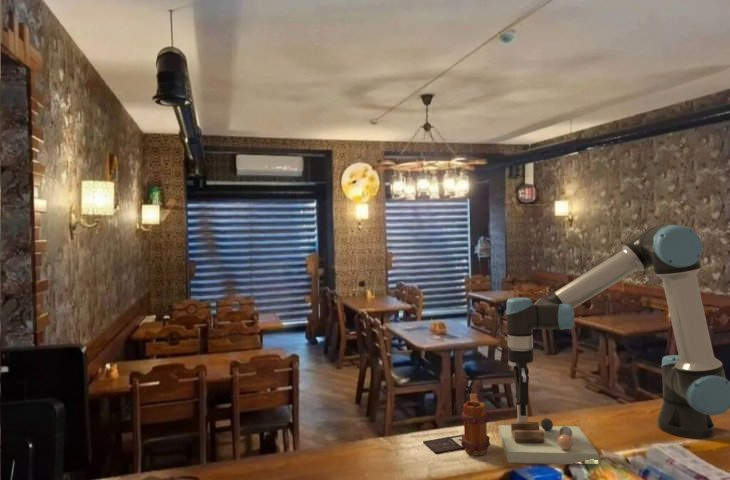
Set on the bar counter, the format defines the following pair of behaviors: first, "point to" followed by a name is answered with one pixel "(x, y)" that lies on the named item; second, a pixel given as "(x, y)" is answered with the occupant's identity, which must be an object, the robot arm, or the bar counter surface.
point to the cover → (527, 432)
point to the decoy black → (546, 424)
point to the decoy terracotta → (565, 442)
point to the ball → (566, 431)
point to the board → (547, 447)
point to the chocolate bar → (445, 444)
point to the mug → (475, 427)
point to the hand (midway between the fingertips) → (522, 424)
